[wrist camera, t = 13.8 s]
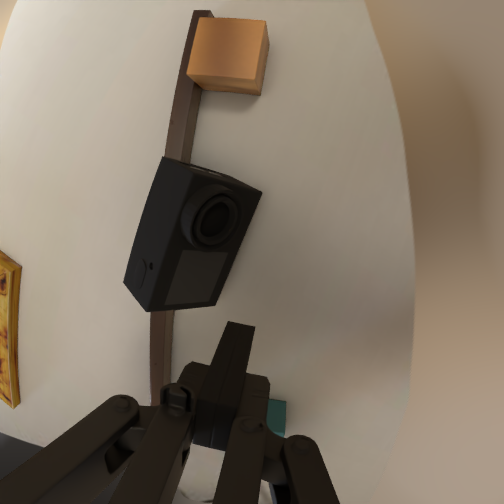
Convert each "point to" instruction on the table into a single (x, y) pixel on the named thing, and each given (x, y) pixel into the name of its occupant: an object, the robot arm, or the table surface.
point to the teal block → (276, 416)
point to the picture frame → (9, 330)
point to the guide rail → (181, 150)
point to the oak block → (229, 55)
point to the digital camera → (188, 236)
